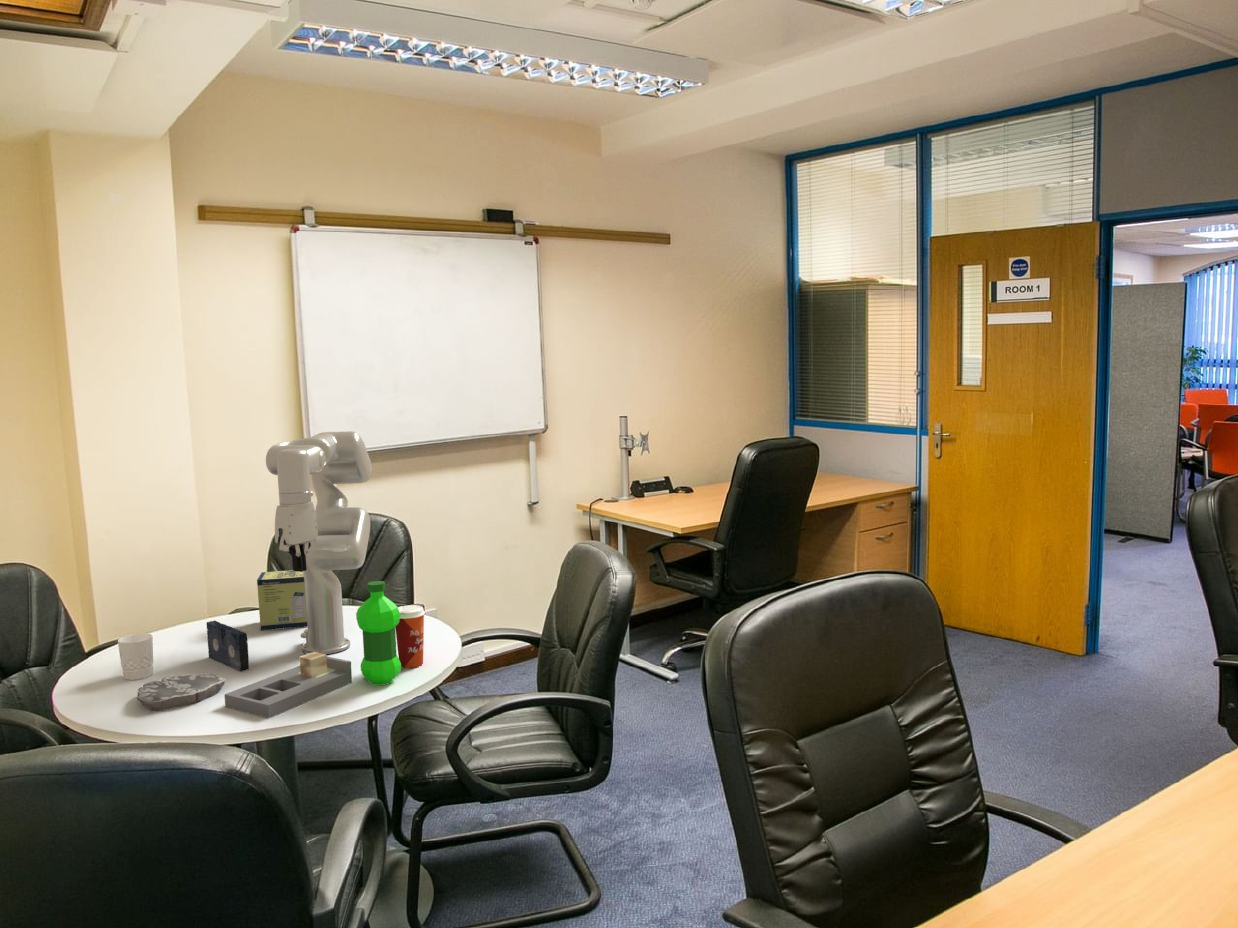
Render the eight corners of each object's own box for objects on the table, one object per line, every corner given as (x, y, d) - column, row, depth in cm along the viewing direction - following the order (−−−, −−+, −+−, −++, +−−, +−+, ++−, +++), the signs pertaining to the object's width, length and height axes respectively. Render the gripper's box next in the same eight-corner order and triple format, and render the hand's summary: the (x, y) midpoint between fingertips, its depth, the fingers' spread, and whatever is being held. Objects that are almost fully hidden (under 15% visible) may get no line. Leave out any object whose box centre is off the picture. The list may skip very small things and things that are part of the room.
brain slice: (196, 679, 235) (195, 667, 234) (235, 692, 225) (234, 680, 225) (118, 703, 219) (117, 691, 218) (156, 719, 209) (155, 706, 209)
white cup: (162, 672, 240) (159, 634, 239) (137, 682, 233) (134, 643, 231) (139, 669, 243) (135, 632, 241) (113, 679, 235) (110, 641, 234)
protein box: (264, 621, 285) (260, 571, 283) (317, 616, 289) (314, 568, 287) (259, 630, 275) (255, 579, 273) (314, 626, 278) (311, 575, 277)
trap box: (225, 706, 215) (223, 683, 214) (309, 673, 236) (308, 652, 236) (269, 718, 208) (267, 694, 207) (352, 682, 229) (350, 661, 228)
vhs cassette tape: (250, 669, 241) (247, 632, 239) (238, 672, 239) (236, 635, 237) (219, 655, 253) (216, 619, 252) (208, 657, 251) (205, 622, 250)
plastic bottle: (381, 691, 223) (376, 590, 220) (351, 684, 228) (345, 585, 225) (411, 678, 231) (406, 580, 228) (381, 671, 237) (376, 576, 234)
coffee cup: (419, 670, 237) (416, 613, 235) (389, 669, 239) (386, 612, 237) (432, 659, 245) (430, 604, 243) (403, 658, 247) (400, 603, 245)
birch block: (300, 674, 227) (299, 656, 226) (316, 669, 231) (315, 651, 230) (311, 677, 224) (310, 659, 224) (327, 672, 228) (326, 654, 227)
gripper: (308, 493, 238) (312, 563, 241) (260, 502, 226) (265, 575, 228) (328, 495, 235) (333, 565, 237) (281, 503, 222) (286, 578, 224)
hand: (299, 570), depth 232 cm, fingers closed
